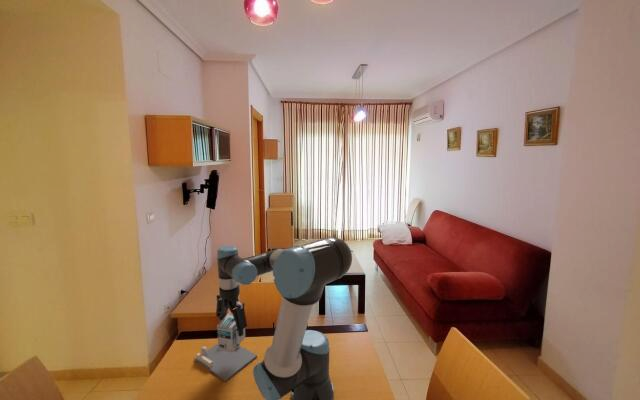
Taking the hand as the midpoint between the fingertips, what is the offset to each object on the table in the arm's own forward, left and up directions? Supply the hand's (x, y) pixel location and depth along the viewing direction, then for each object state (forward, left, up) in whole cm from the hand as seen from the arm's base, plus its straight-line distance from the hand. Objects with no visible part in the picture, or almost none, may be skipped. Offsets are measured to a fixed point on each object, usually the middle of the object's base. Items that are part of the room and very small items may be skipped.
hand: (232, 337), depth 119 cm
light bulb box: (0, 0, -3) cm, 3 cm away
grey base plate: (+5, 0, -11) cm, 12 cm away
